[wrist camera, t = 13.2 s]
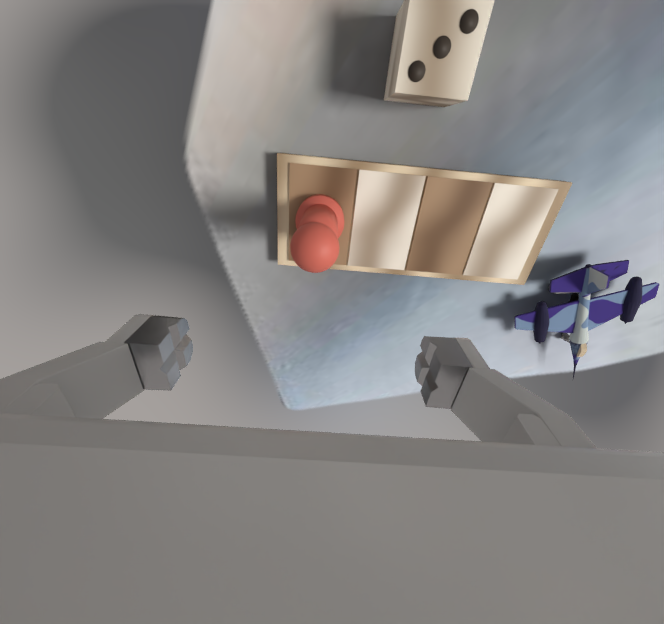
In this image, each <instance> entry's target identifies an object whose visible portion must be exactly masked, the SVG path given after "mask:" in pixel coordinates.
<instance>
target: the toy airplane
mask: <svg viewBox="0 0 664 624" xmlns="http://www.w3.org/2000/svg"><path fill="white" fill-rule="evenodd" d="M628 265H629V260H624V261H616V262H609V263H602V264H595V265H590V264H588V265H586V266H585V267H584V268H581V269H578V270H576V271H573V272H570V273H568V274H565V275H563V276H560V277H557V278H555V279H552V280H551V281H550V285H549V291H550V292H551V293H553V294H554V293H556V294H559V293H573V294H572V295H571V298H570V301H569V302H568V303H565V304H561V305H557V306H553V307H549V308H547V304H546V303H545V302H544V301H540V302H538V303H537V306H536V309H535V311H533V312H529V313H525V314H521V315H517V316H515V328H516V329H520V330H533V332H534V340H535V341H536V342H539V344H540V343H541V342H544V341H545V339H546V335H547V331H549V332H564V333H562V337H561V339H563V340H564V341H567V342H569V343H570V345H571V350H572V355H573V360H574V373H575V368H576V365H577V362H578V360H579V358H580V357H582V356H583V355H584V354H585V353H586V351H587V343H588V341H589V337H588V331H589V330H591V329H593V328H595V327H597V326H599V325H601V324H603V323H605V322H607V321H609V320H611V319H613V318H615V317H617V316H619V315H620V320H622V321H624V322H625V324H626V323H627V322H631V321H633V319H634V316H635V314H636V312H637V310H638V308H639V306H640V305H641V304H643V303H645V302H647V301H649V300H651V299H653V298H655V297H656V294H657V291H658V287H659V283H656V282H655V283H651V284H647V285H643V286H642V279H641V278H640V277H633V278H631V279H630V281H629V283H628V284H627V286H626V288H625V290H623V291H619V292H615V293H611V294H607V295H602V296H598V297H594V298H590V294H591V293H593V292H597V291H600V290H603V289H606V288H608V286H609V281H611V280H613V279H615V278H617V277H619V276H621V275H623V274H626V273H627V270H628ZM578 293H580V294H579V295H578ZM567 333H571V334H570V335H568V334H567ZM573 377H574V374H573Z"/></svg>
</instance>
